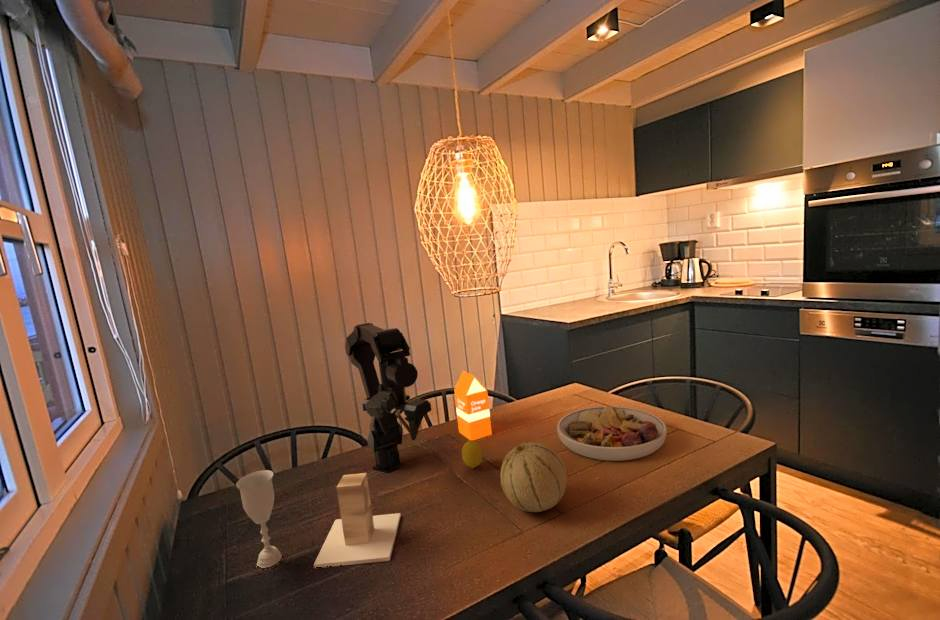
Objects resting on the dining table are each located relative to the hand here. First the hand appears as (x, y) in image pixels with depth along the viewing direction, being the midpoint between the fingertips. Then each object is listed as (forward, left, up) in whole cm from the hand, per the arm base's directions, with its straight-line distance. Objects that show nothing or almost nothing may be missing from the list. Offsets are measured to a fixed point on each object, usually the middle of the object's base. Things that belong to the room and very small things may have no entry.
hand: (400, 437), depth 117 cm
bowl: (+41, +43, -14) cm, 61 cm away
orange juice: (0, +34, -13) cm, 37 cm away
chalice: (-7, -35, -13) cm, 38 cm away
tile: (+6, -22, -13) cm, 26 cm away
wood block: (+6, -22, -12) cm, 26 cm away
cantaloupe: (+35, +4, -13) cm, 38 cm away
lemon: (+12, +14, -13) cm, 23 cm away
